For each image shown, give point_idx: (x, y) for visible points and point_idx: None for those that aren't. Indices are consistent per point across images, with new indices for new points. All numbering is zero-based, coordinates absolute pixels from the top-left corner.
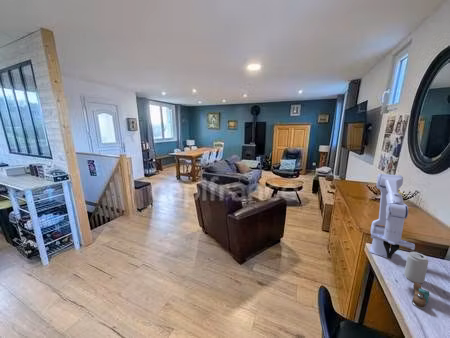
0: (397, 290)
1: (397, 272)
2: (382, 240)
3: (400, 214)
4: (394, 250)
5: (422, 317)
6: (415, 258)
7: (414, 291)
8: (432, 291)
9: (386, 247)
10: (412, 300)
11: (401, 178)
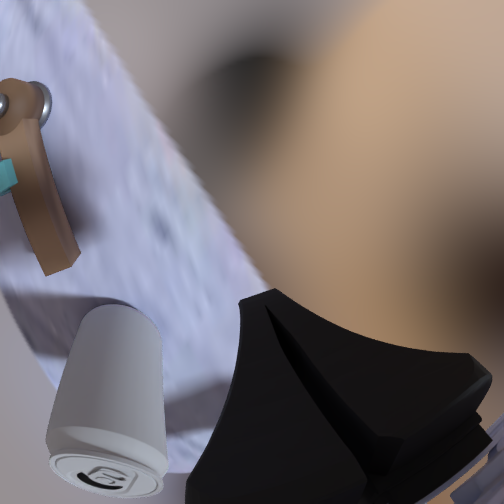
0: (124, 127)
1: (190, 322)
2: (489, 430)
3: None
4: (246, 417)
5: (13, 41)
6: (88, 447)
7: (47, 179)
8: (40, 304)
9: (398, 365)
10: (48, 106)
11: None
